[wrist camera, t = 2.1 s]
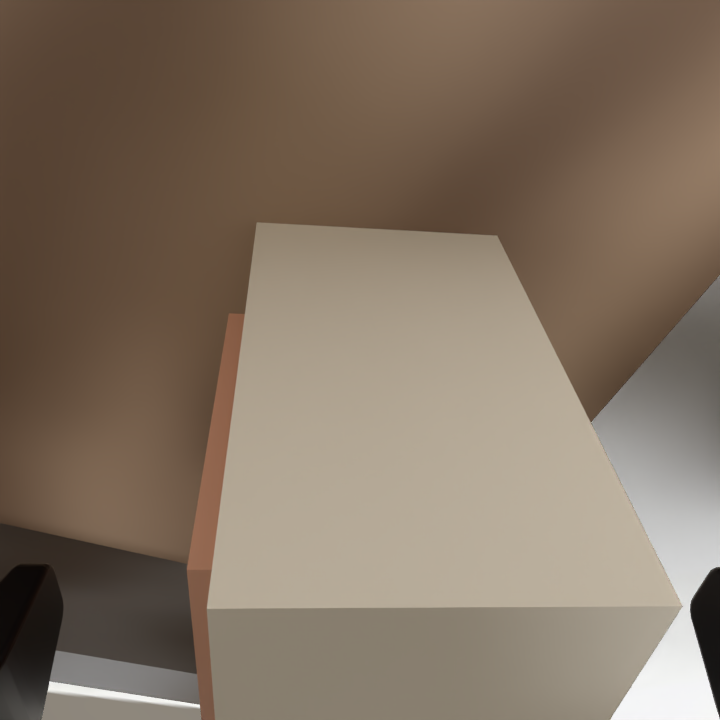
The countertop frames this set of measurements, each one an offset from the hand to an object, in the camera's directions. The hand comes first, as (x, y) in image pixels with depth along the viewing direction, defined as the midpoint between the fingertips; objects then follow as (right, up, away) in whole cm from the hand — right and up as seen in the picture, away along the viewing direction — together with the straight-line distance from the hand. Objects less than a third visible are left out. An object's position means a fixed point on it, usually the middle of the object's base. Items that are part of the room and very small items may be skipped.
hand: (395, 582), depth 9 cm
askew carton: (0, +3, +4) cm, 5 cm away
